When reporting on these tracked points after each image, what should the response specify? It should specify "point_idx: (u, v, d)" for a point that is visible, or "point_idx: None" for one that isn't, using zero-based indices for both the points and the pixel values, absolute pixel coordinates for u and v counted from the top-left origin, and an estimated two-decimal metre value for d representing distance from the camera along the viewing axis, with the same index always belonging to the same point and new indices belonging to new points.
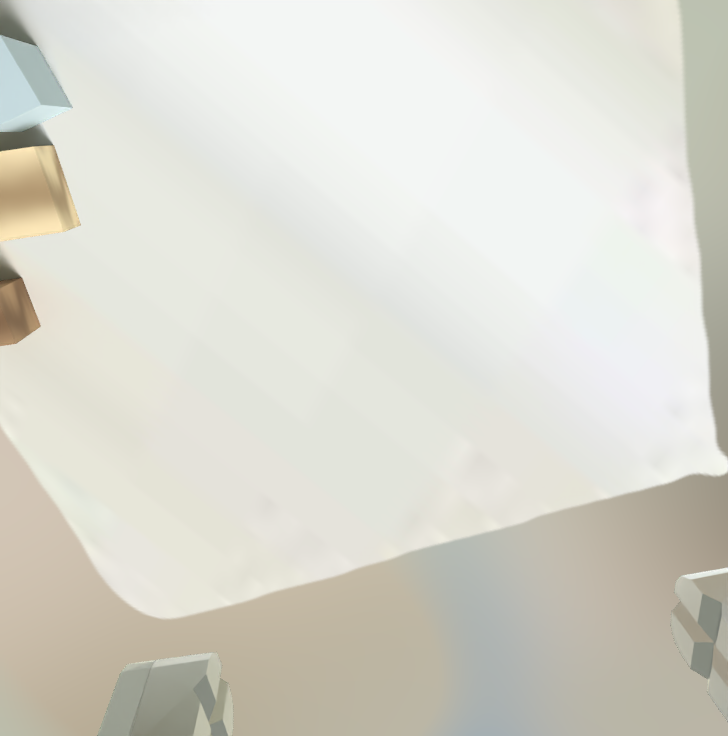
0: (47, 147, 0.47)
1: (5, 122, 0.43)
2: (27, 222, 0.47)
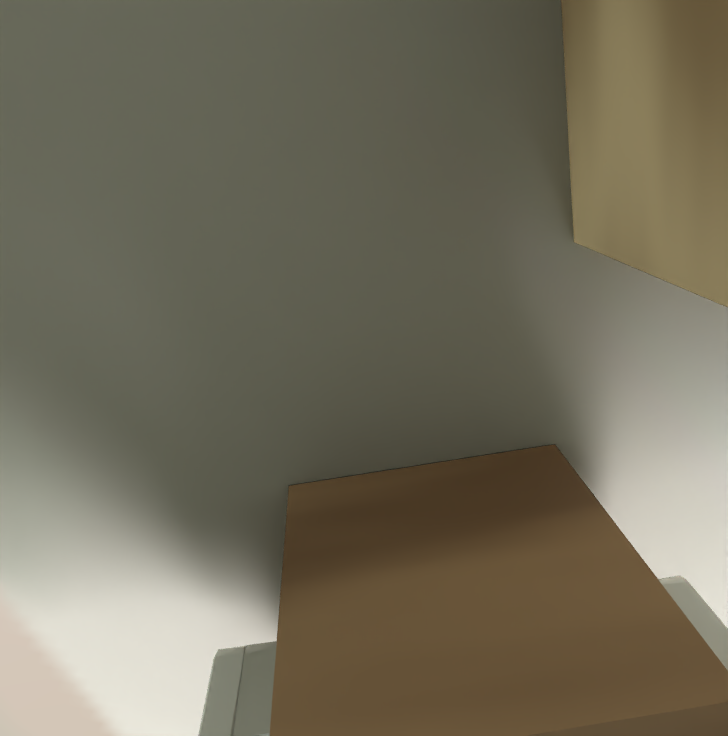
0: None
1: None
2: None
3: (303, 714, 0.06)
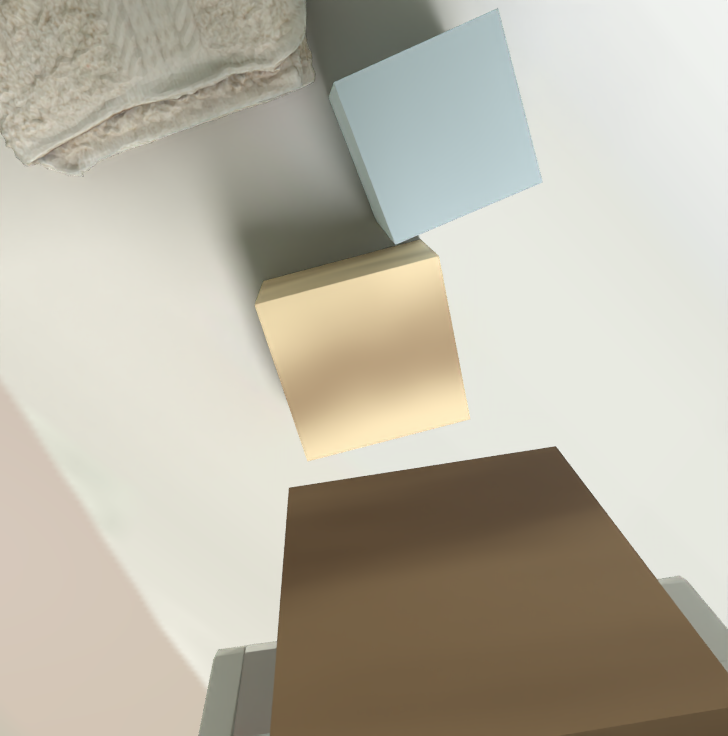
0: None
1: (443, 222, 0.18)
2: (401, 411, 0.22)
3: (304, 719, 0.06)
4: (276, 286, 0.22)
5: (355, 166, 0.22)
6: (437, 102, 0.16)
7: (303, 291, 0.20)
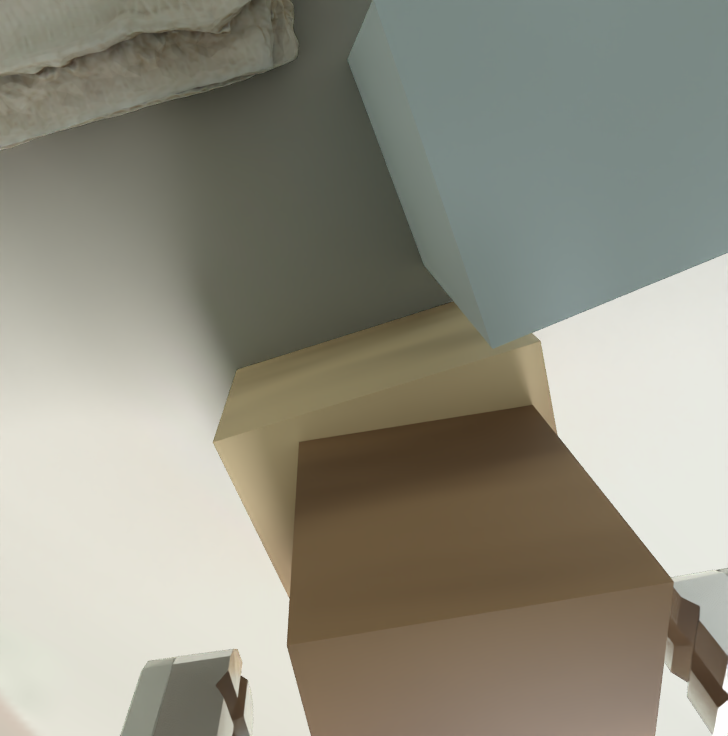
0: None
1: None
2: None
3: (315, 603, 0.07)
4: (254, 390, 0.13)
5: (392, 178, 0.13)
6: (606, 48, 0.07)
7: (299, 415, 0.11)
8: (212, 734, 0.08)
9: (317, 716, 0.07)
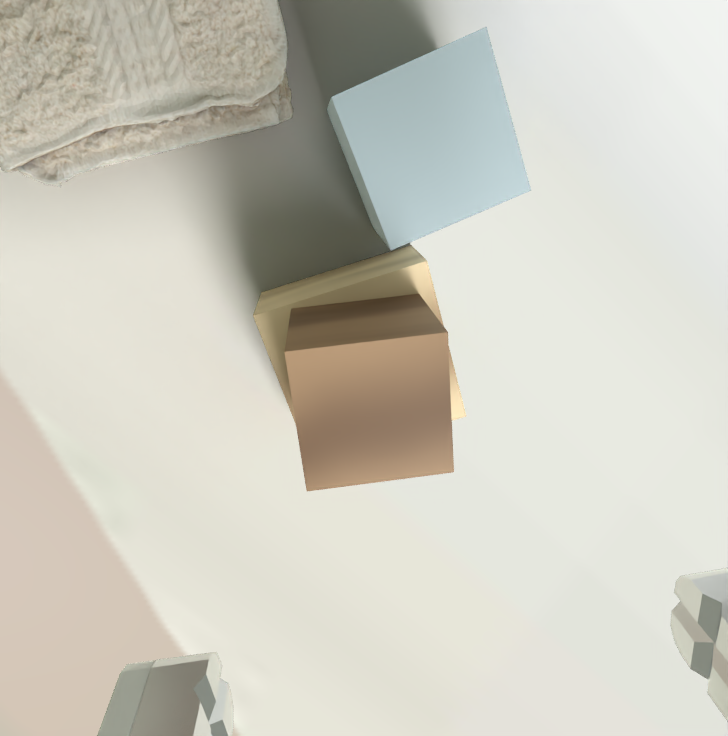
0: None
1: None
2: None
3: (297, 343, 0.17)
4: (273, 296, 0.23)
5: (352, 175, 0.23)
6: (429, 115, 0.17)
7: (299, 300, 0.21)
8: None
9: (296, 393, 0.17)
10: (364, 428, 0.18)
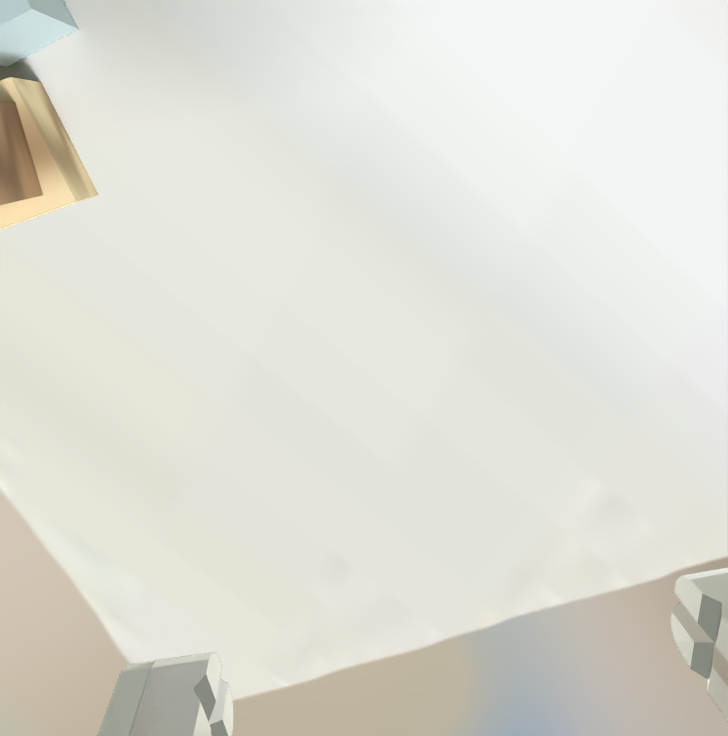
0: (32, 83, 0.33)
1: None
2: None
3: None
4: None
5: None
6: None
7: None
8: None
9: None
10: None
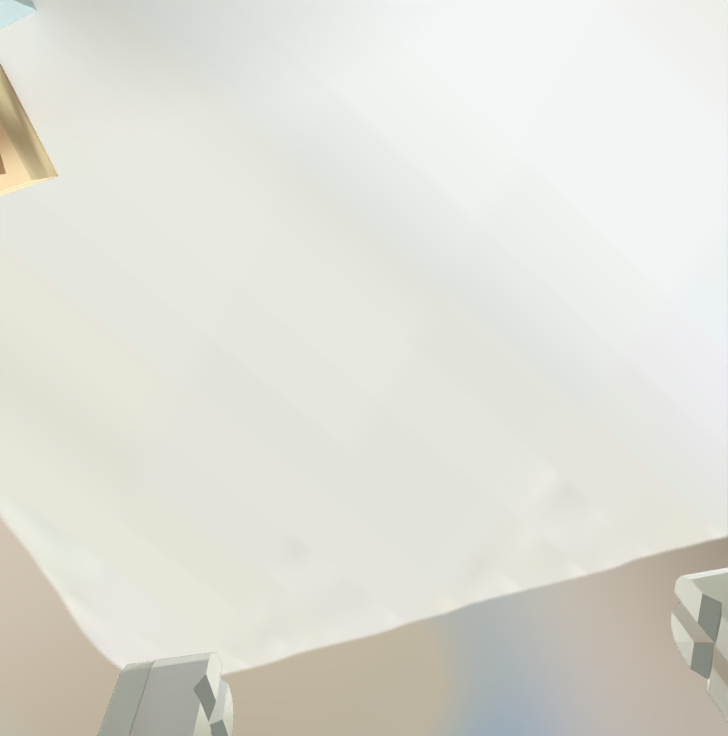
0: None
1: None
2: None
3: None
4: None
5: None
6: None
7: None
8: None
9: None
10: None
